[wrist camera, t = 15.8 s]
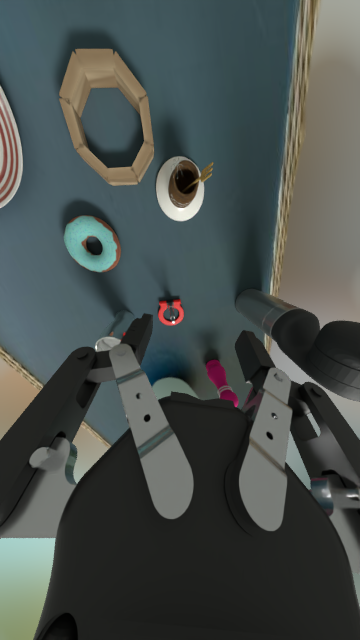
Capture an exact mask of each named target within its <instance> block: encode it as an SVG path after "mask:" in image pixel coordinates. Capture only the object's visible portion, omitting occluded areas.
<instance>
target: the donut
mask: <svg viewBox="0 0 360 640" xmlns="http://www.w3.org/2000/svg"><path fill="white" fill-rule="evenodd" d="M91 236H93V237H96V238H98V239H99V240H100V242H101V243H102V246H103V251H102V253H101V254H100V255H93V254H92V253H90V252H89V250H88V249H87V246H86V240H87V239H88V237H91ZM64 242H65V244H66V247H67V249H68V251H69V253H70V255H71V256H72V257H73V259H74V260H75V261H76V262H77V263H78V264H79V265H81V266H82V267H84V268H86V269H88V270H91V271H94V272H106V271H109V270H111V269H113V268H114V267H115V266H116V265H117V263H118V262H119V259H120V256H121V246H120V242H119V240H118V237H117V235H116V234H115V232H114V231H113V229H112V228H111V227H110V226H109V225H108V224H107V223H105V222H104V221H102V220H101V219H99V218H97V217H94V216H89V215H82V216H78V217H75V218H73V219H72V220H70V222H69V223H68V224H67V225H66V229H65V234H64Z"/></svg>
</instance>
